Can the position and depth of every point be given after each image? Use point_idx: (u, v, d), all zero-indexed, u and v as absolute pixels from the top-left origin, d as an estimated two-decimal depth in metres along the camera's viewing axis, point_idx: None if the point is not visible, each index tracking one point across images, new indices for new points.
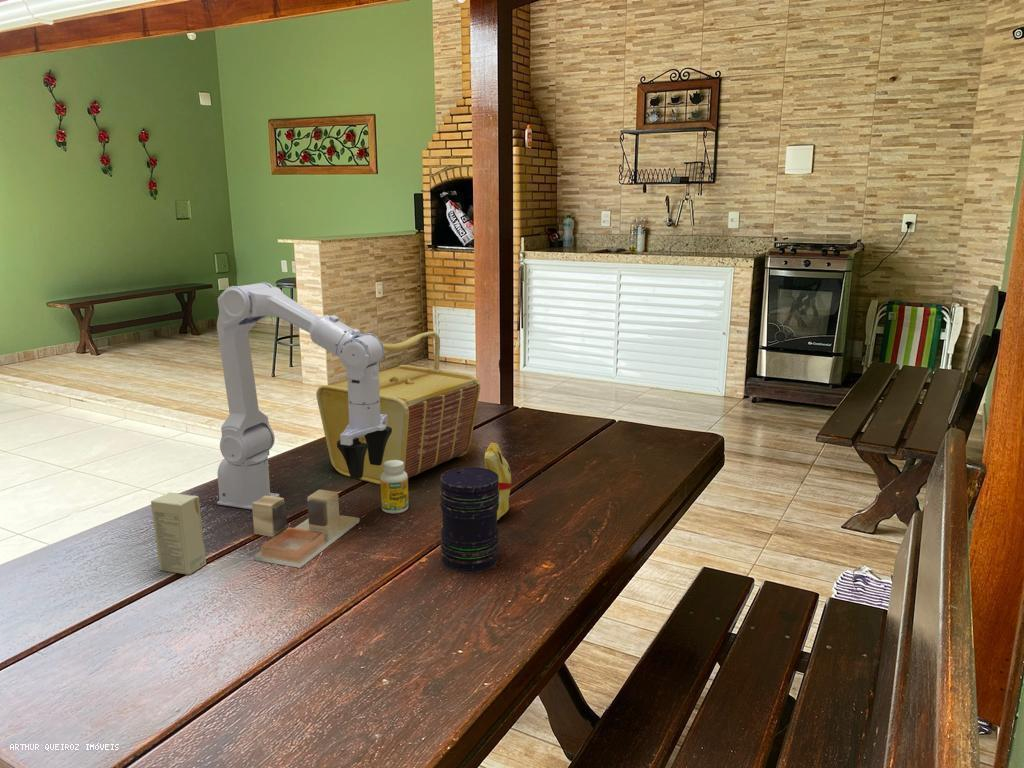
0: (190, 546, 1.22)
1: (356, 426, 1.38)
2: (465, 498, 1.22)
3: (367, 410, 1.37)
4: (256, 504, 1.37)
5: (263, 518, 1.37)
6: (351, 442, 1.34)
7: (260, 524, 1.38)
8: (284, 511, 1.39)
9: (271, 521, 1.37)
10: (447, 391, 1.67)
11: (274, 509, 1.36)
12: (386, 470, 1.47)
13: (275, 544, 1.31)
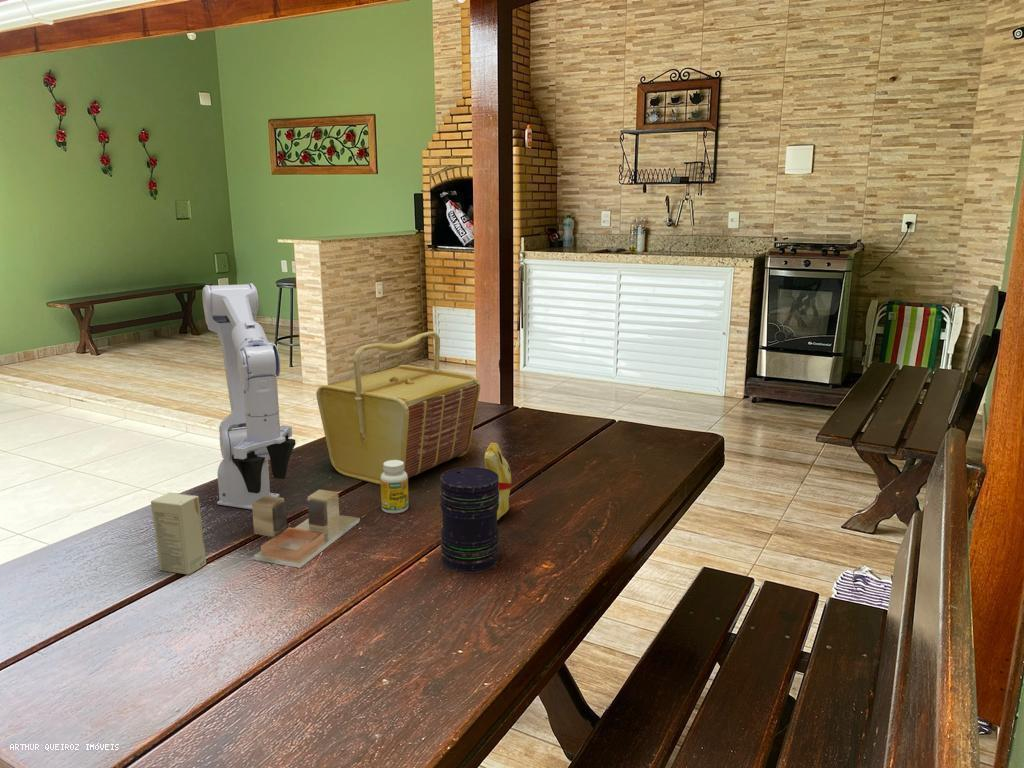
0: (190, 546, 1.22)
1: (253, 439, 1.33)
2: (465, 498, 1.22)
3: (263, 422, 1.32)
4: (256, 504, 1.37)
5: (263, 518, 1.37)
6: (244, 456, 1.29)
7: (260, 524, 1.38)
8: (284, 511, 1.39)
9: (271, 521, 1.37)
10: (447, 391, 1.67)
11: (274, 509, 1.36)
12: (386, 470, 1.47)
13: (275, 544, 1.31)
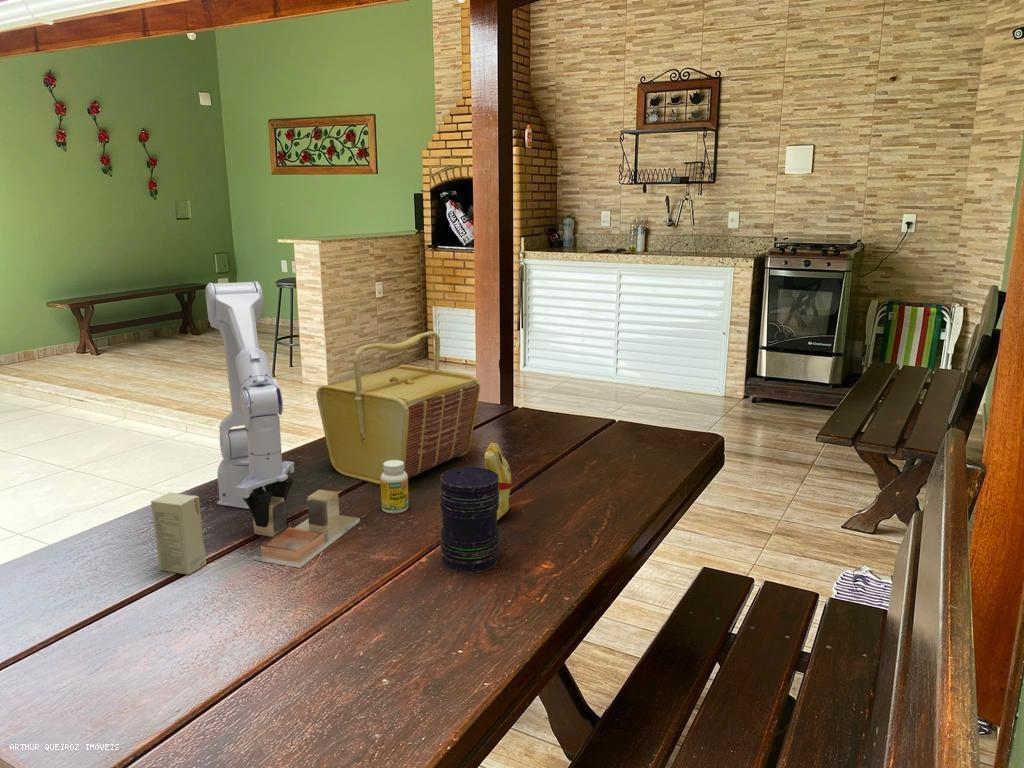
0: (190, 546, 1.22)
1: (255, 477, 1.35)
2: (465, 498, 1.22)
3: (266, 461, 1.34)
4: None
5: None
6: (247, 495, 1.31)
7: None
8: (284, 511, 1.39)
9: (271, 521, 1.37)
10: (447, 391, 1.67)
11: (274, 509, 1.36)
12: (386, 470, 1.47)
13: (275, 544, 1.31)
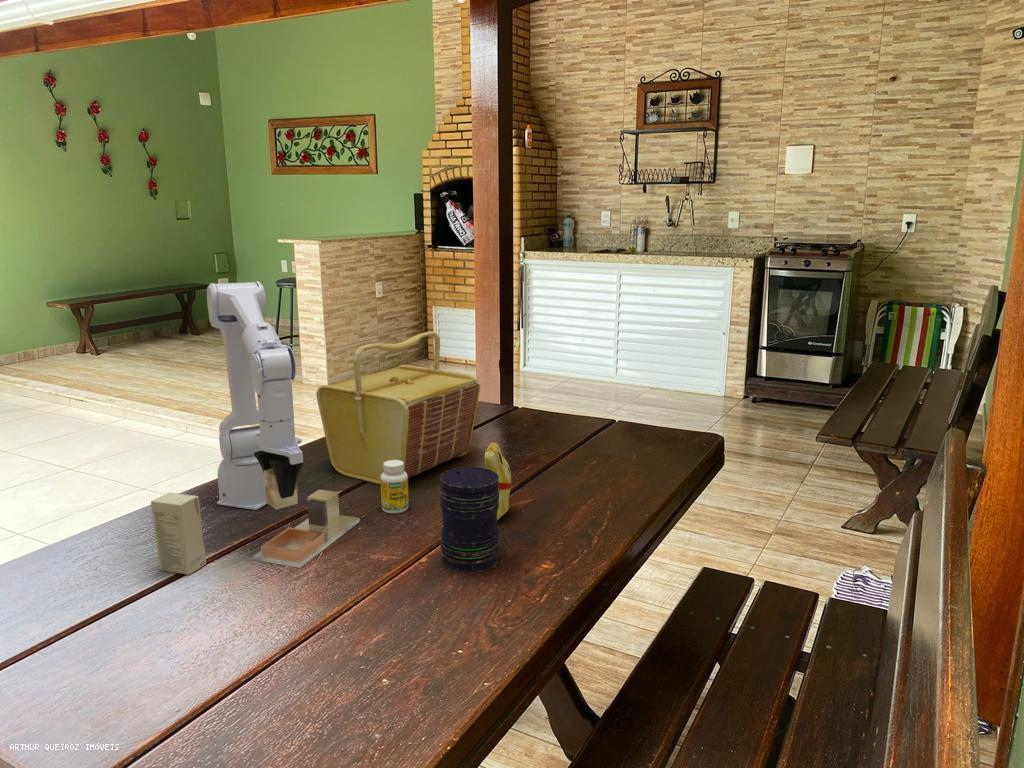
0: (190, 546, 1.22)
1: (284, 445, 1.28)
2: (465, 498, 1.22)
3: (292, 424, 1.29)
4: None
5: None
6: None
7: None
8: None
9: (296, 487, 1.32)
10: (447, 391, 1.67)
11: None
12: (386, 470, 1.47)
13: (275, 544, 1.31)
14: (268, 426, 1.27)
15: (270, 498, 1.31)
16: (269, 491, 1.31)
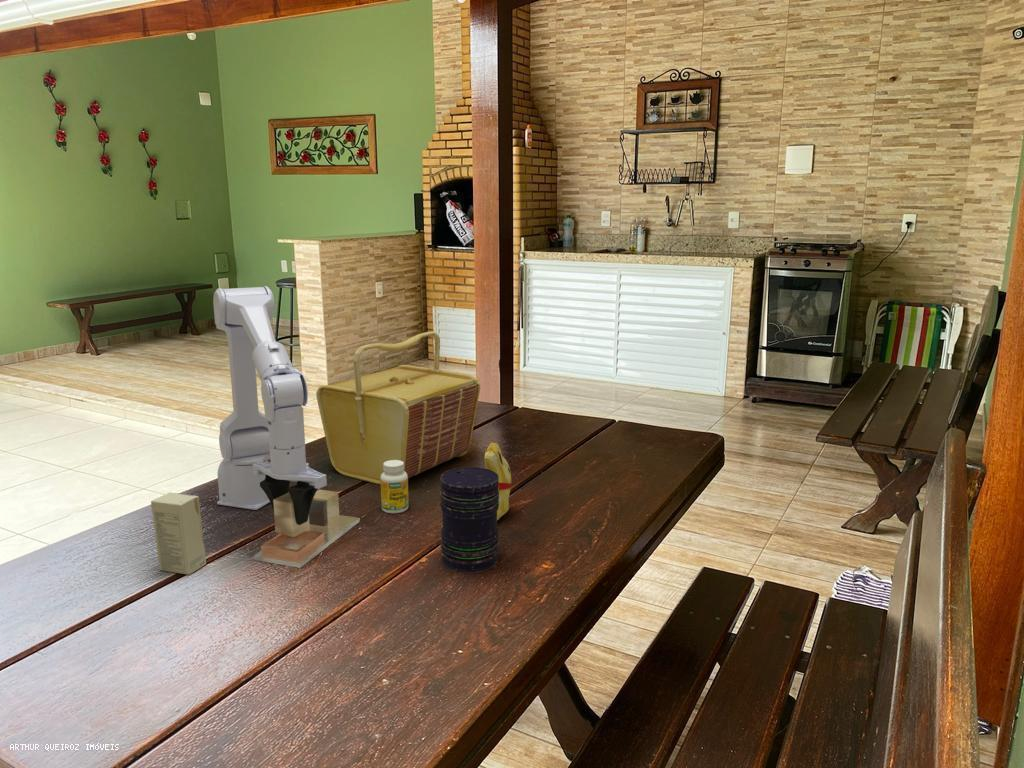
0: (190, 546, 1.22)
1: (301, 470, 1.27)
2: (465, 498, 1.22)
3: None
4: None
5: None
6: None
7: None
8: None
9: None
10: (447, 391, 1.67)
11: None
12: (386, 470, 1.47)
13: (275, 544, 1.31)
14: (285, 453, 1.25)
15: (283, 527, 1.29)
16: (282, 520, 1.28)
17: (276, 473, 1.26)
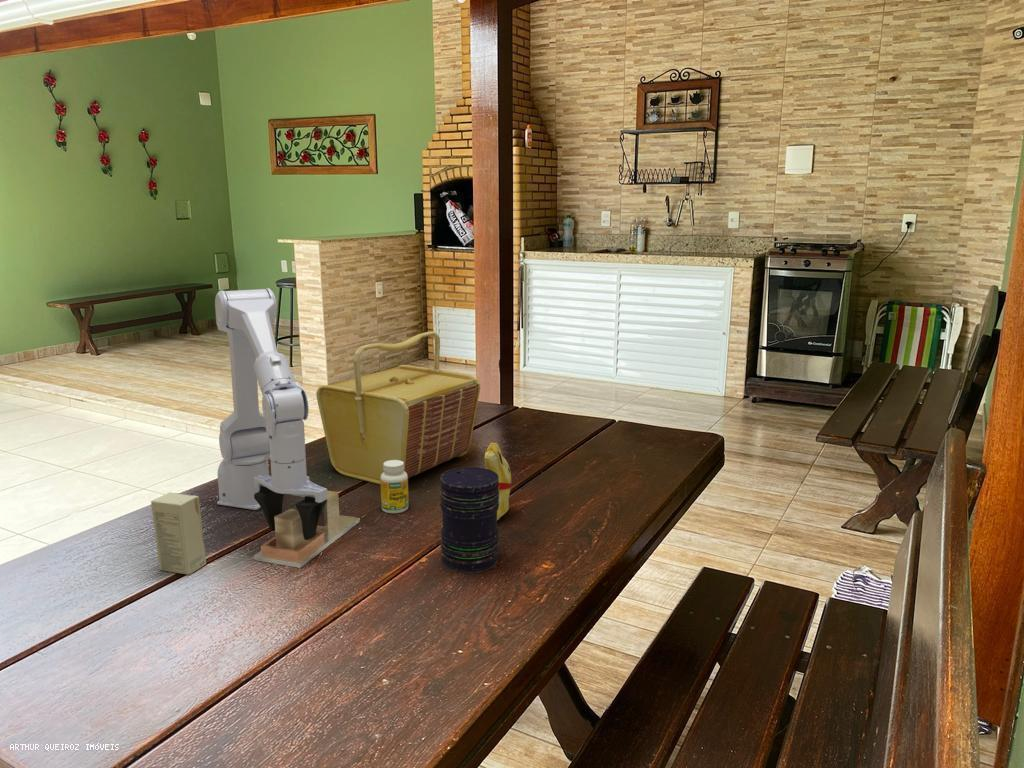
0: (190, 546, 1.22)
1: (301, 484, 1.27)
2: (465, 498, 1.22)
3: (305, 463, 1.29)
4: (296, 519, 1.28)
5: (302, 530, 1.30)
6: None
7: (299, 539, 1.30)
8: None
9: None
10: (447, 391, 1.67)
11: None
12: (386, 470, 1.47)
13: (275, 544, 1.31)
14: (286, 467, 1.25)
15: (284, 544, 1.29)
16: (283, 537, 1.29)
17: (277, 487, 1.26)
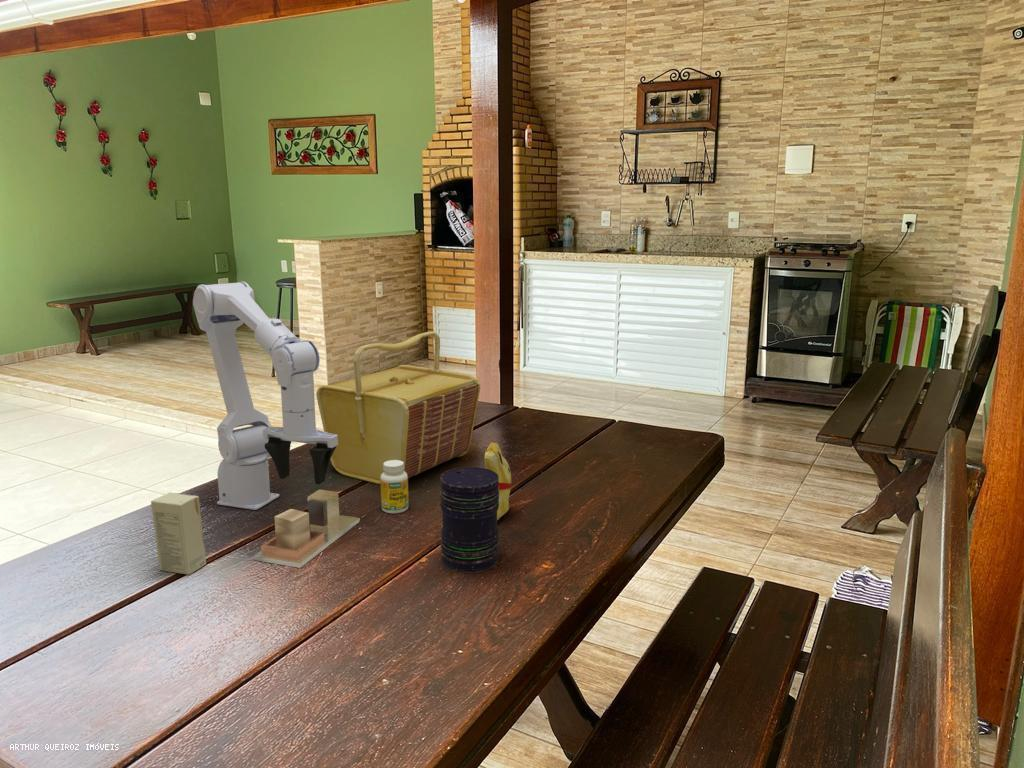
0: (190, 546, 1.22)
1: (312, 432, 1.36)
2: (465, 498, 1.22)
3: None
4: (296, 519, 1.28)
5: (302, 530, 1.30)
6: None
7: (299, 539, 1.30)
8: None
9: (309, 528, 1.31)
10: (447, 391, 1.67)
11: (308, 515, 1.32)
12: (386, 470, 1.47)
13: (275, 544, 1.31)
14: (299, 416, 1.34)
15: (284, 544, 1.29)
16: (283, 537, 1.29)
17: (290, 435, 1.35)
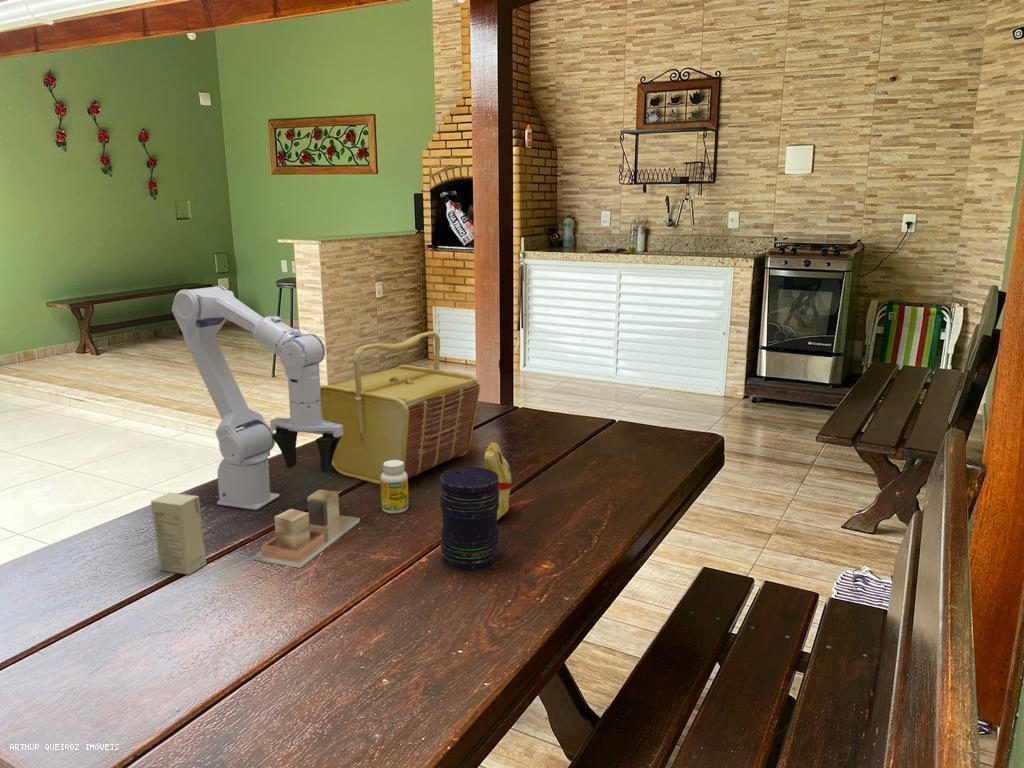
0: (190, 546, 1.22)
1: (318, 422, 1.42)
2: (465, 498, 1.22)
3: None
4: (296, 519, 1.28)
5: (302, 530, 1.30)
6: None
7: (299, 539, 1.30)
8: None
9: (309, 528, 1.31)
10: (447, 391, 1.67)
11: (308, 515, 1.32)
12: (386, 470, 1.47)
13: (275, 544, 1.31)
14: (306, 407, 1.40)
15: (284, 544, 1.29)
16: (283, 537, 1.29)
17: (297, 425, 1.40)
